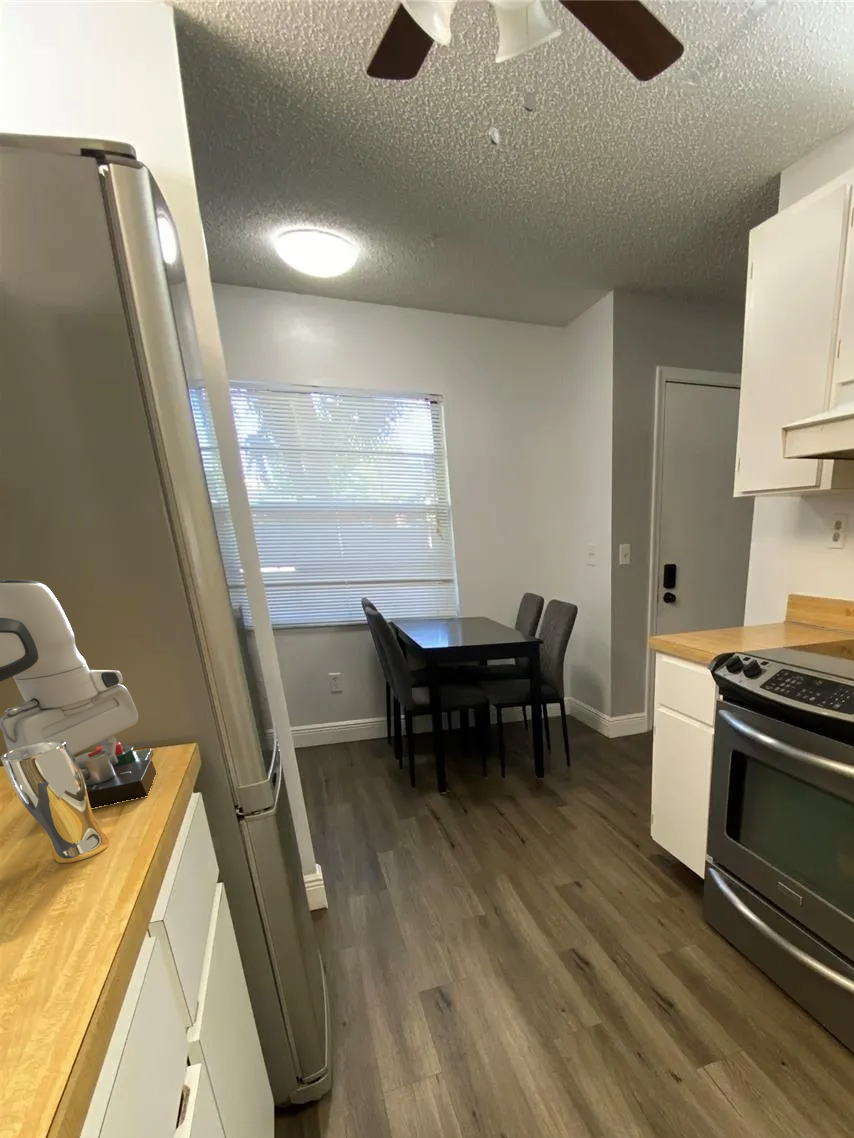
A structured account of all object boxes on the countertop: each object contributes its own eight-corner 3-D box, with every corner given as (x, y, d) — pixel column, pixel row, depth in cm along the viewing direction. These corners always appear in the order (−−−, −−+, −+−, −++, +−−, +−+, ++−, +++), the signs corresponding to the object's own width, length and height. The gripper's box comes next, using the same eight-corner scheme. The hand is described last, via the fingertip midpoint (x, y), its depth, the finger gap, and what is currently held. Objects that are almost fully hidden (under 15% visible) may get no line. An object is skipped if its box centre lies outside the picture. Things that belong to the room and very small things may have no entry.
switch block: (80, 789, 106) (70, 768, 104) (92, 772, 112) (82, 752, 111) (148, 774, 109) (139, 753, 107) (155, 759, 116) (147, 738, 114)
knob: (101, 784, 99) (89, 759, 97) (76, 785, 99) (64, 760, 97) (122, 772, 103) (111, 748, 101) (98, 773, 103) (87, 749, 101)
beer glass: (113, 851, 85) (65, 748, 78) (49, 871, 81) (-6, 766, 75) (113, 832, 90) (68, 734, 84) (53, 850, 87) (2, 749, 80)
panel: (50, 819, 96) (41, 801, 95) (68, 794, 104) (60, 777, 103) (147, 797, 100) (140, 779, 99) (157, 774, 109) (150, 757, 107)
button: (97, 760, 107) (92, 751, 106) (102, 753, 110) (97, 744, 109) (121, 755, 108) (117, 746, 108) (125, 749, 111) (121, 739, 111)
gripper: (14, 712, 85) (59, 803, 91) (128, 668, 103) (159, 746, 109) (-26, 714, 86) (21, 804, 92) (94, 671, 104) (126, 748, 110)
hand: (97, 772), depth 101 cm, fingers closed on knob, 4 cm apart
